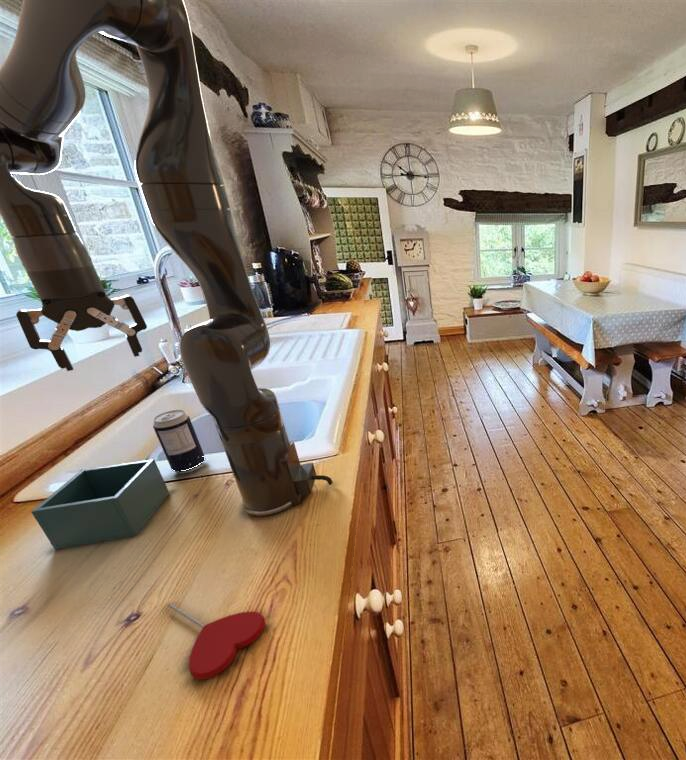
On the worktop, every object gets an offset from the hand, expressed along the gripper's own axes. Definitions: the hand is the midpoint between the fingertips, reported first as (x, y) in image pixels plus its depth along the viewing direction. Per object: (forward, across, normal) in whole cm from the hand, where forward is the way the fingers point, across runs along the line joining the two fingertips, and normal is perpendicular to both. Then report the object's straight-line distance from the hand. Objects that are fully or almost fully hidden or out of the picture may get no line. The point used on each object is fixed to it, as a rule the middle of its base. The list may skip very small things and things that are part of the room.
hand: (105, 362), depth 70 cm
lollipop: (+25, -1, -44) cm, 51 cm away
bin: (+25, -7, -8) cm, 27 cm away
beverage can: (+25, +5, 0) cm, 25 cm away
